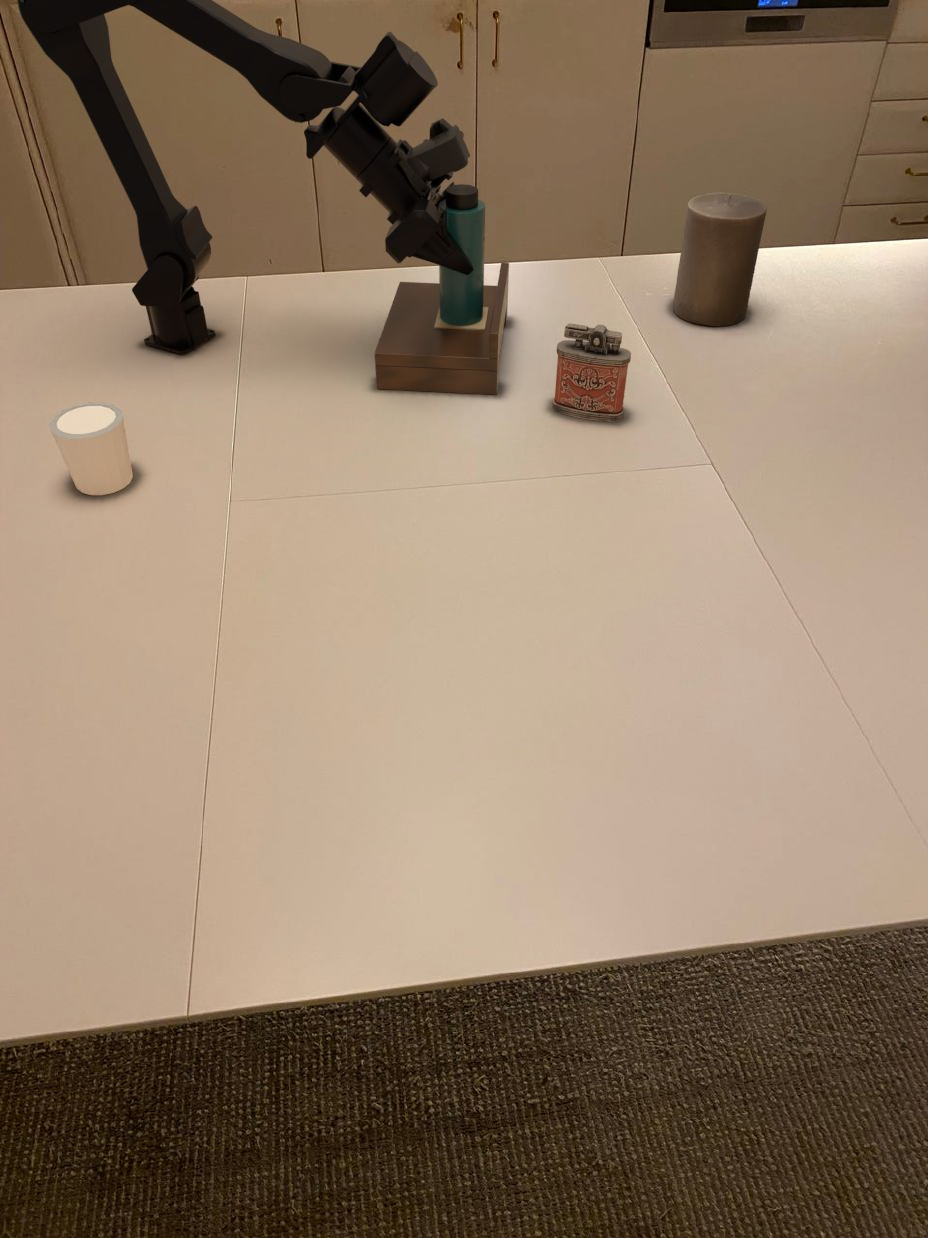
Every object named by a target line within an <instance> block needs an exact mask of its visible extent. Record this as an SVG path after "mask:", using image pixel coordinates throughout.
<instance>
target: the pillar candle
mask: <svg viewBox="0 0 928 1238" xmlns="http://www.w3.org/2000/svg"><path fill="white" fill-rule="evenodd" d="M767 209H768V208H767V205H766V203H765V202H763V201H761V200H760V199H758V198H756V197H754V196H751V195H747V194H741V193H735V192H724V191H720V192H709V193H705V194H699V195H696V196H694V197H692V198H691V199H689V201H688V203H687V209H686V210H687V211H686V215H685V222H684V223H685V224H684V228H683V237H682V240H681V241H682V242H681V249H680V256H679V261H678V269H677V275H676V282H675V288H674V296H673V302H672V310H673V313H674V314H675V315H676V316H677V317H679V318H681V319H682V320H684V321H687V322H689V323H692V324H697V325H703V326H709V327H724V326H727V327H728V326H731V325H734V324H737V323H739V322H741V321H743V320H744V319H745V318H746V314H747V310H748V307H749V306H748V305H749V301H750V298H751V297H750V295H751V290H752V286H753V281H754V276H755V275H754V274H755V270H756V265H757V260H758V255H759V250H760V245H761V241H762V235H763V231H764V225H765V221H766V215H767Z"/></svg>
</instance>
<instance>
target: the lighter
mask: <svg viewBox="0 0 928 1238" xmlns="http://www.w3.org/2000/svg"><path fill="white" fill-rule="evenodd" d="M563 334H564V335H563V337H564V338H566V339H568V340H566V339H564V340H561V341H559V342H558V343H557V345H556V354H557V364H556V375H555V376H556V377H555V389H554V397H553V399H552V410H553V411H554V412H556V413H558V414H563V415H566V416H570V417H574V418H579V419H582V420H592V421H597V422H610V423H616V422H619V421H621V420H622V419H623V418H624V411H625V408H624V400H625V391H626V385H627V376H628V368H629V364H630V363H631V359H632V352H631V351H630V350H628V349H627V348H625V347H621V344H622V339H623V333H622V332H621V331H615V330H608V328H607V327H606V326H605V324H597V325H595V327H590V326H588V325H584V324H578V323H572V322H571V323H570V322H569V323H567V324H565V326H564V332H563ZM571 339H572V340H571Z"/></svg>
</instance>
